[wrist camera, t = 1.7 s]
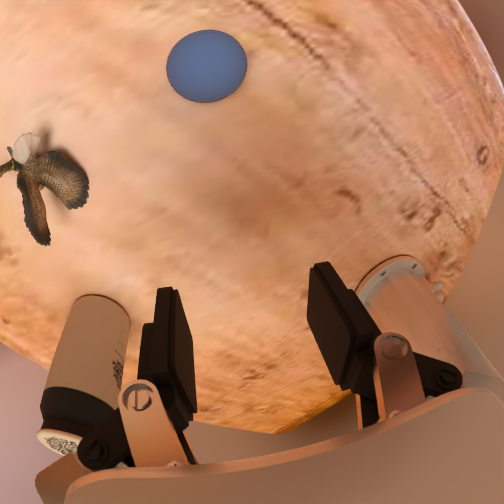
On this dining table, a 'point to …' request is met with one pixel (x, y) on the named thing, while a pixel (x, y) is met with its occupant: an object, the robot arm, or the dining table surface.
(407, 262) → the robot arm
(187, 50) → the ball
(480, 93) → the dining table surface
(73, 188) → the eagle figurine
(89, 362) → the travel mug
